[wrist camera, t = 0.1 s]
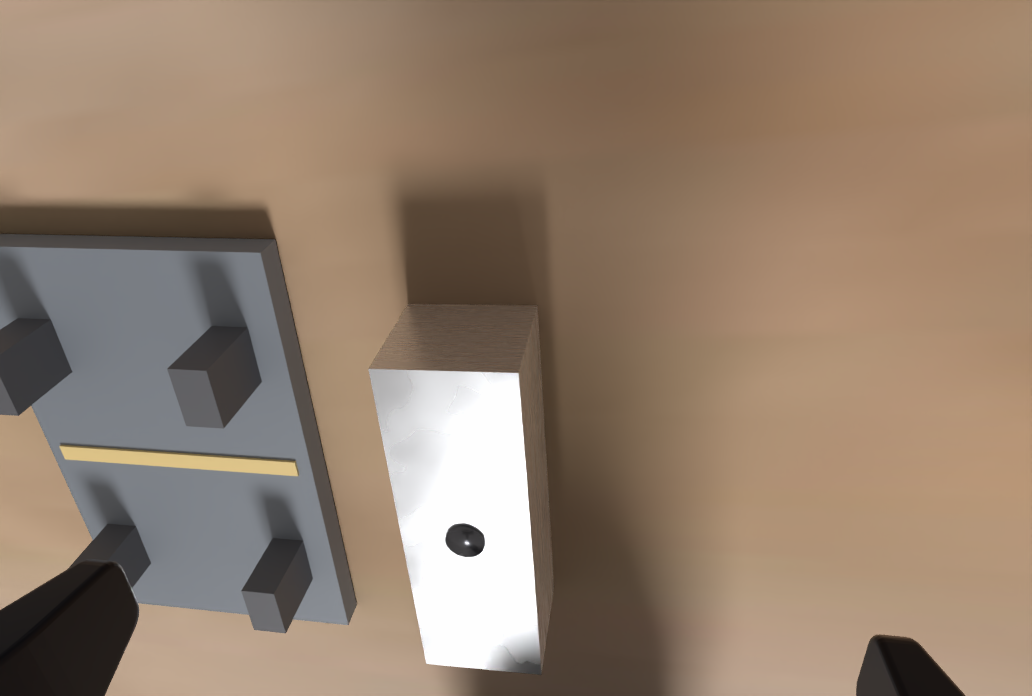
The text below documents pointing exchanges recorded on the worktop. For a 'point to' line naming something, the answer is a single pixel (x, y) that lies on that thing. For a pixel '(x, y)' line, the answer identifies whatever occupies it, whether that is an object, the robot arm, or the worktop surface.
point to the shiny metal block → (470, 479)
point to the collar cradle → (178, 418)
